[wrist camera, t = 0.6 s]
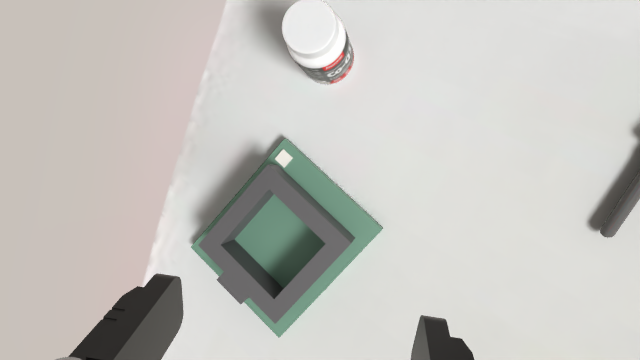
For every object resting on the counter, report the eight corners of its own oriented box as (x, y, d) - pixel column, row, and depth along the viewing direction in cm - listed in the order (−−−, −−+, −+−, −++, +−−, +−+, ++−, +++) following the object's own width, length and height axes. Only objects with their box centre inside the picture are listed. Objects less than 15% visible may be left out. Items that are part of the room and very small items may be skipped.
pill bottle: (340, 93, 36) (323, 70, 28) (295, 73, 37) (266, 44, 29) (363, 45, 36) (352, 6, 28) (317, 25, 37) (293, -18, 28)
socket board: (287, 139, 37) (274, 135, 33) (382, 227, 36) (380, 234, 32) (196, 245, 39) (173, 253, 35) (282, 333, 38) (268, 352, 34)
